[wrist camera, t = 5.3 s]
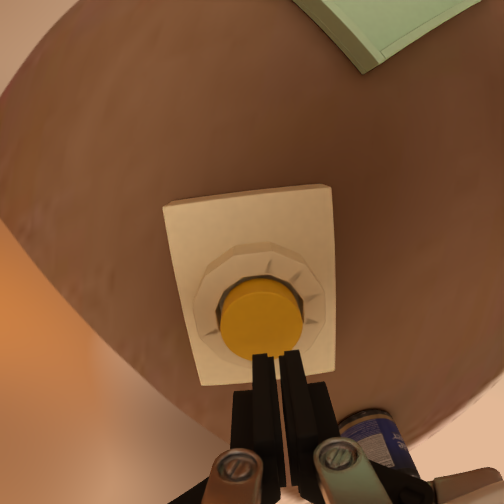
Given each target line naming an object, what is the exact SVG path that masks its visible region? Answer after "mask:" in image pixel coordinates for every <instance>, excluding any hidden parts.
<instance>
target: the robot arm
mask: <svg viewBox="0 0 504 504" xmlns="http://www.w3.org/2000/svg"><path fill="white" fill-rule="evenodd" d="M279 368H280V379H281V391H282V403H283V414H284V422H285V431H286V440H287V448H288V457H289V466H290V475H291V484H292V486H298V490H299V493H300V496H301V497H302V498H304V499H306V500H307V501H309V502H311V504H504V481H503V479H502V476H501V474H500V472H498V471H497V470H496V469H494V468H490V467H486V468H481V469H476V470H472V471H468V472H464V473H459V474H454V475H449V476H443V477H438V478H435V479H434V480H433V481H428V482H426V481H424V480H422V479H419V478H416V477H413V476H411V475H408V474H405V473H402V472H400V471H397V470H394V469H392V468H389V467H387V466H384V465H382V464H379V463H377V462H374V461H372V460H369V459H368V458H367V456H366V454H365V452H364V451H363V449H362V447H361V446H360V445H359V444H358V443H357V442H356V441H354V440H353V439H350V438H346V437H341V435H340V432H339V428H338V424H337V421H336V417H335V414H334V411H333V407H332V404H331V400H330V397H329V393H328V390H327V387H326V384H325V382H324V381H323V382H317V383H310V384H307V381H306V377H305V372H304V368H303V363H302V359H301V355H300V351H299V349H298V350H290V351H284V355H281V356H279ZM252 387H253V390H246V391H234V393H233V408H232V425H231V443H230V450H227V451H225V452H223V453H222V454H220V455H219V456H218V457H217V458H216V459H215V461H214V463H213V466H212V469H211V472H210V476H209V477H207V478H206V479H205V480H203V481H202V482H200V483H199V484H197V485H196V486H194V487H193V488H191V489H190V490H188V491H187V492H185V493H184V494H182V495H181V496H179V497H178V498H176V499H174V500H173V501H171V502H170V503H168V504H275V503H277V502H278V501H279V500H280V499H281V498H280V495H281V492H280V487H286V475H285V463H284V452H283V440H282V430H281V421H280V411H279V401H278V392H277V383H276V373H275V364H274V356H272V357H268V355H267V353H263V354H252Z"/></svg>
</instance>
